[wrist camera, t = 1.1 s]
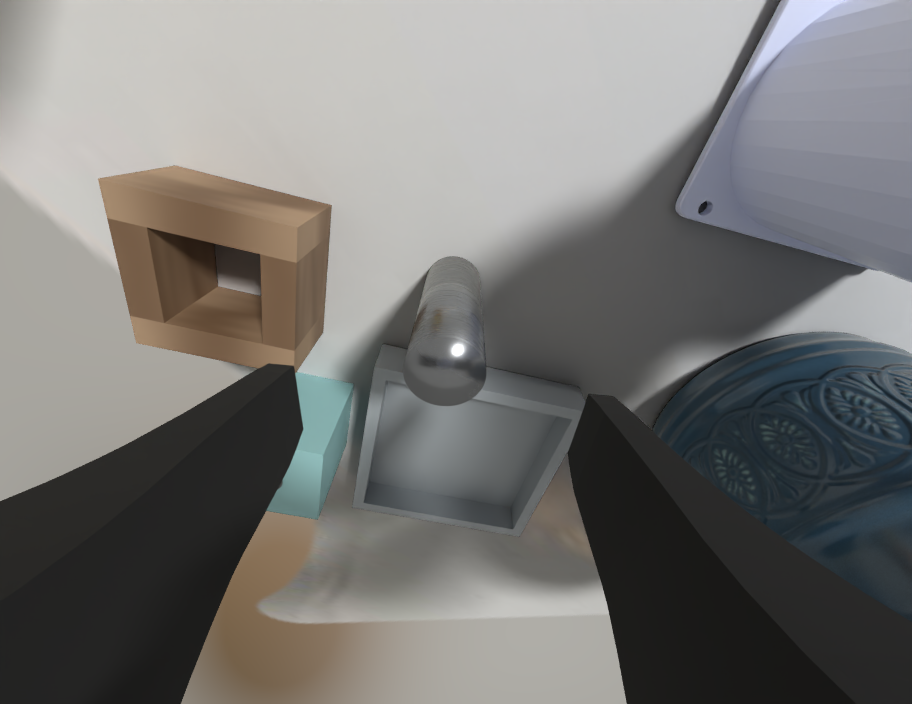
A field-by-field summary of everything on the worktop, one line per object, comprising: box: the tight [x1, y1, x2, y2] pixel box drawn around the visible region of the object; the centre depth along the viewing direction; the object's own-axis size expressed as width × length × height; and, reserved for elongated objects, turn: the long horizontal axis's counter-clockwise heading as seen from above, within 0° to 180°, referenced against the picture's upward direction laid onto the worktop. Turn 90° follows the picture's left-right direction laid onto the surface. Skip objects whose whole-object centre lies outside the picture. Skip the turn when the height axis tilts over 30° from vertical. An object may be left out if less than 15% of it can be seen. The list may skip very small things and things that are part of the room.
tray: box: [352, 344, 585, 537], centre depth 21 cm, size 10×10×2 cm
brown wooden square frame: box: [98, 166, 332, 373], centre depth 15 cm, size 6×6×4 cm
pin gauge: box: [403, 256, 487, 406], centre depth 14 cm, size 2×2×7 cm
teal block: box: [266, 372, 354, 520], centre depth 19 cm, size 4×4×5 cm
